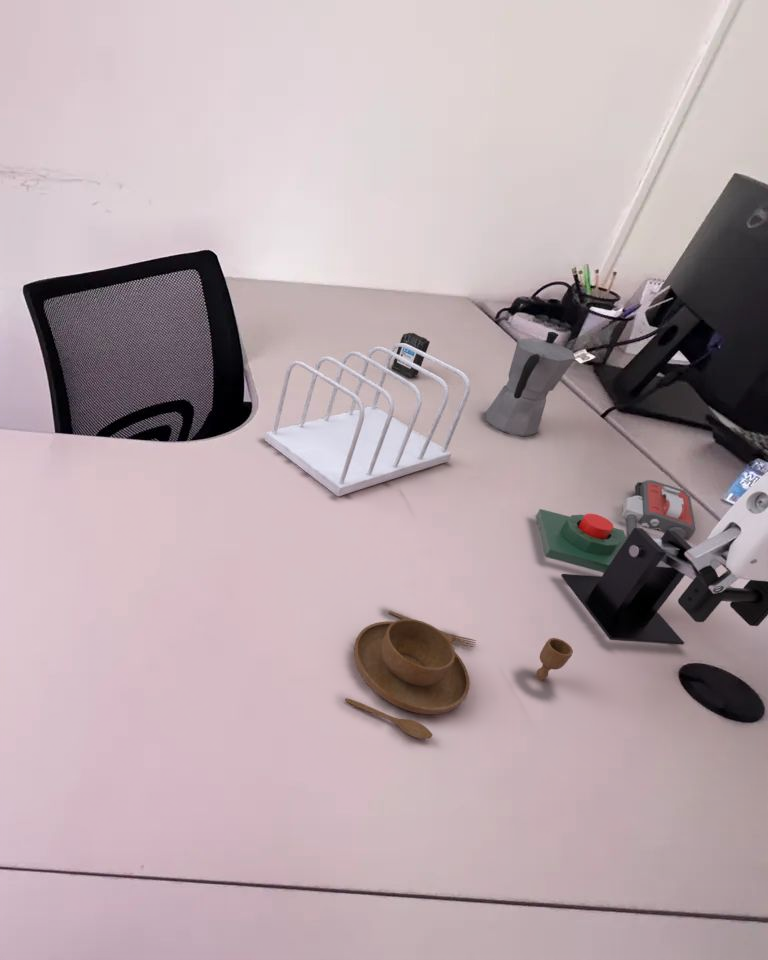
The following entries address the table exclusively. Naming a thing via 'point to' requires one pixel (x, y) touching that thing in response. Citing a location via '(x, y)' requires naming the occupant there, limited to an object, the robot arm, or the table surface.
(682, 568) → the lever
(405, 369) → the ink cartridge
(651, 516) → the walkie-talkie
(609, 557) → the control box
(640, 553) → the bracket
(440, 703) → the place setting
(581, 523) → the button
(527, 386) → the coffeepot
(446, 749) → the table surface
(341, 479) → the file sorter
